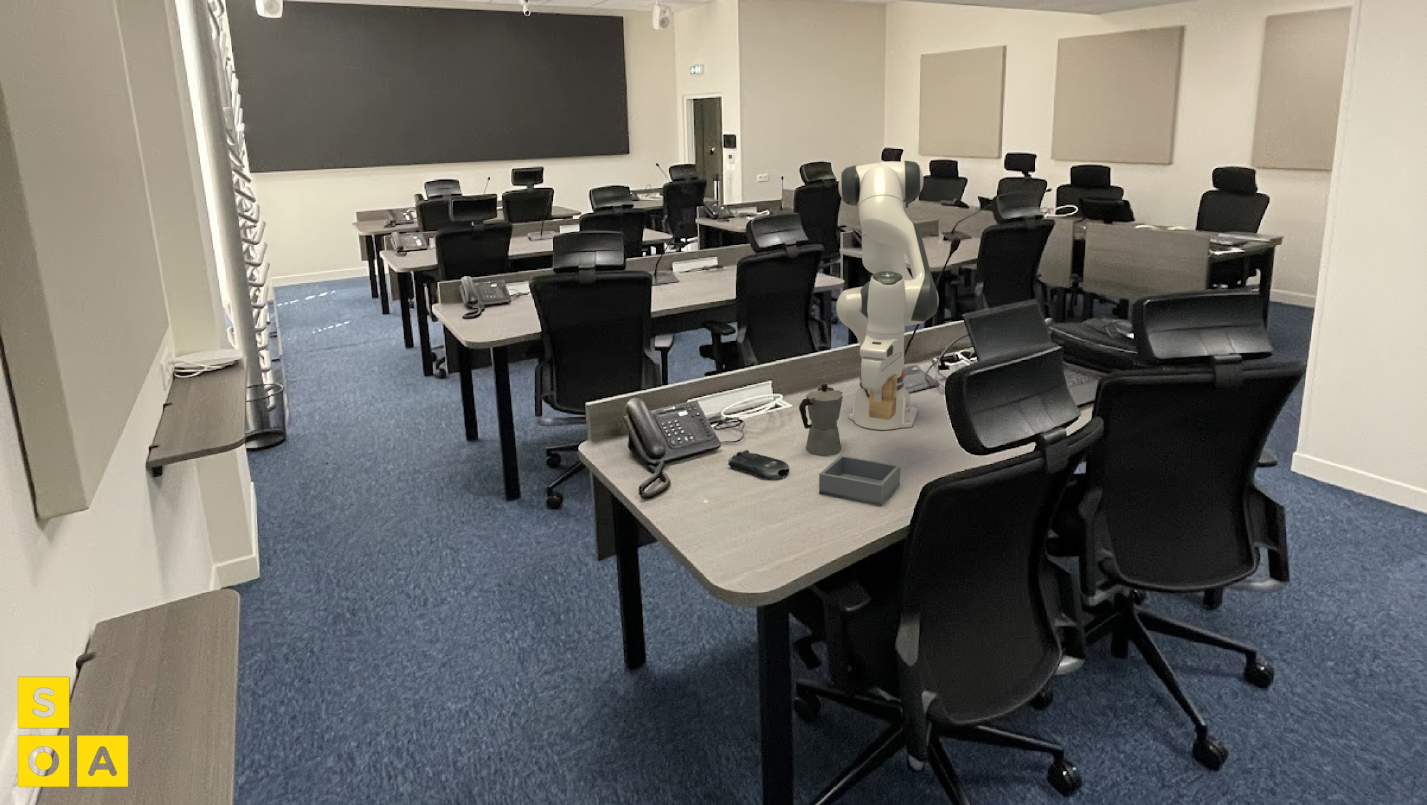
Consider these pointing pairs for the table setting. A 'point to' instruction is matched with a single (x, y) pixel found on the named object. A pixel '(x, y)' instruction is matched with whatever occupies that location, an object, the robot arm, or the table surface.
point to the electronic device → (758, 465)
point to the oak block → (884, 401)
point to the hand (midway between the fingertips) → (882, 397)
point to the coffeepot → (822, 421)
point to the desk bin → (859, 480)
